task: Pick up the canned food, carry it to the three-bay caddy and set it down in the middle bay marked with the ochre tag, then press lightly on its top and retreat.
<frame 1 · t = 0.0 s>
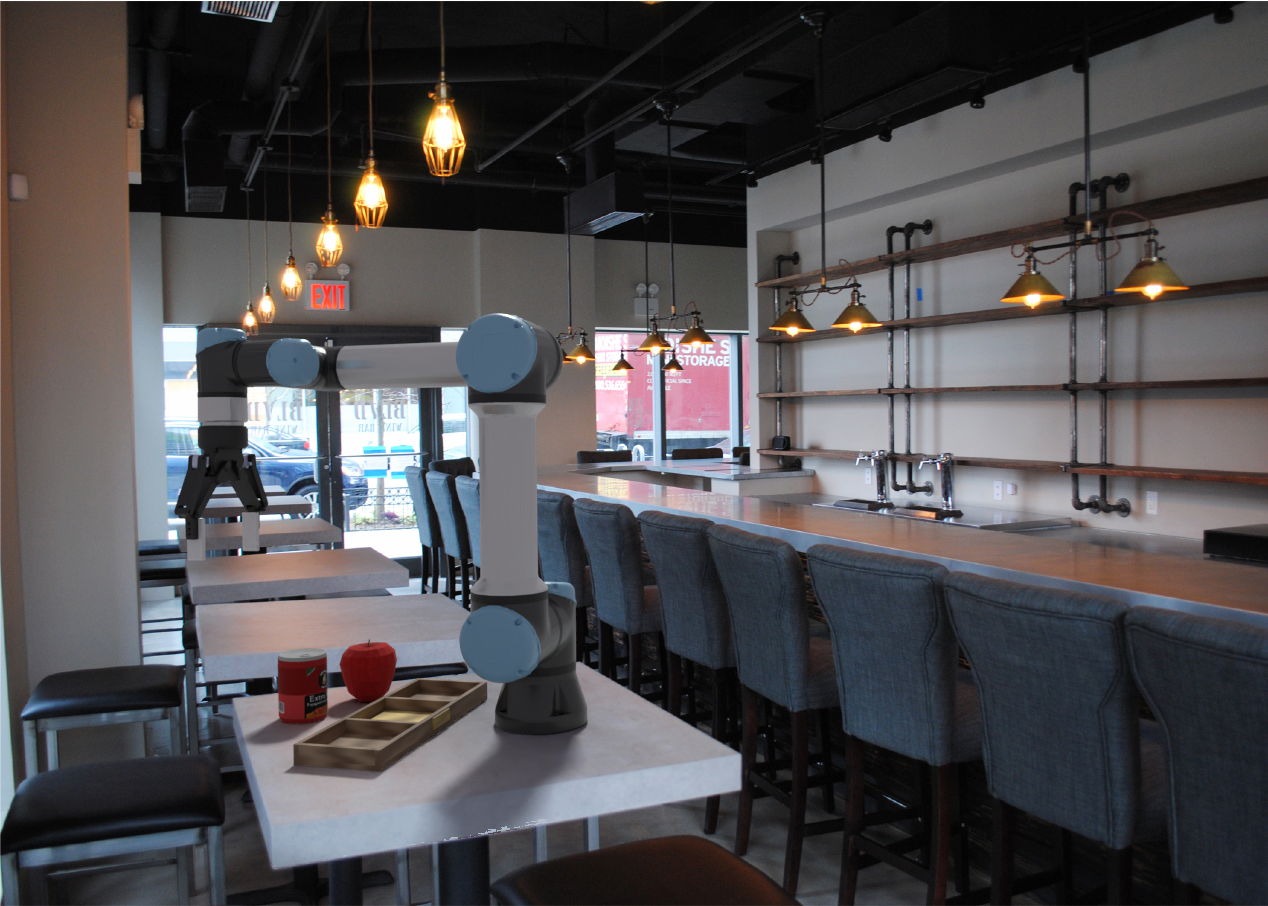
hand: (224, 555, 156), 28 cm above the table, fingers open, 13 cm apart
canned food: (303, 719, 161), on the table
apple: (369, 700, 172), on the table
caddy: (401, 728, 154), on the table
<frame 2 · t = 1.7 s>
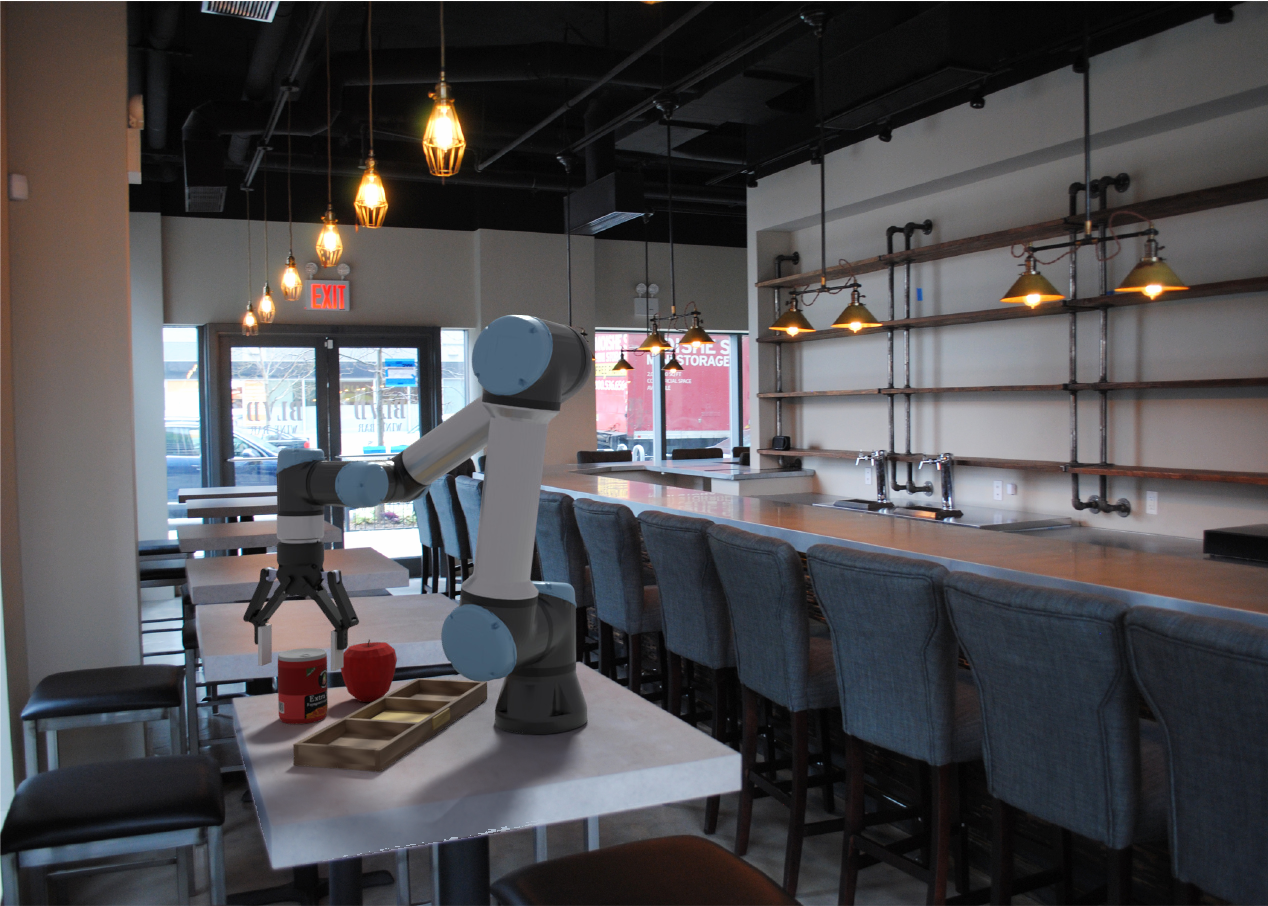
hand: (300, 666, 161), 9 cm above the table, fingers open, 13 cm apart
nothing on the table moved.
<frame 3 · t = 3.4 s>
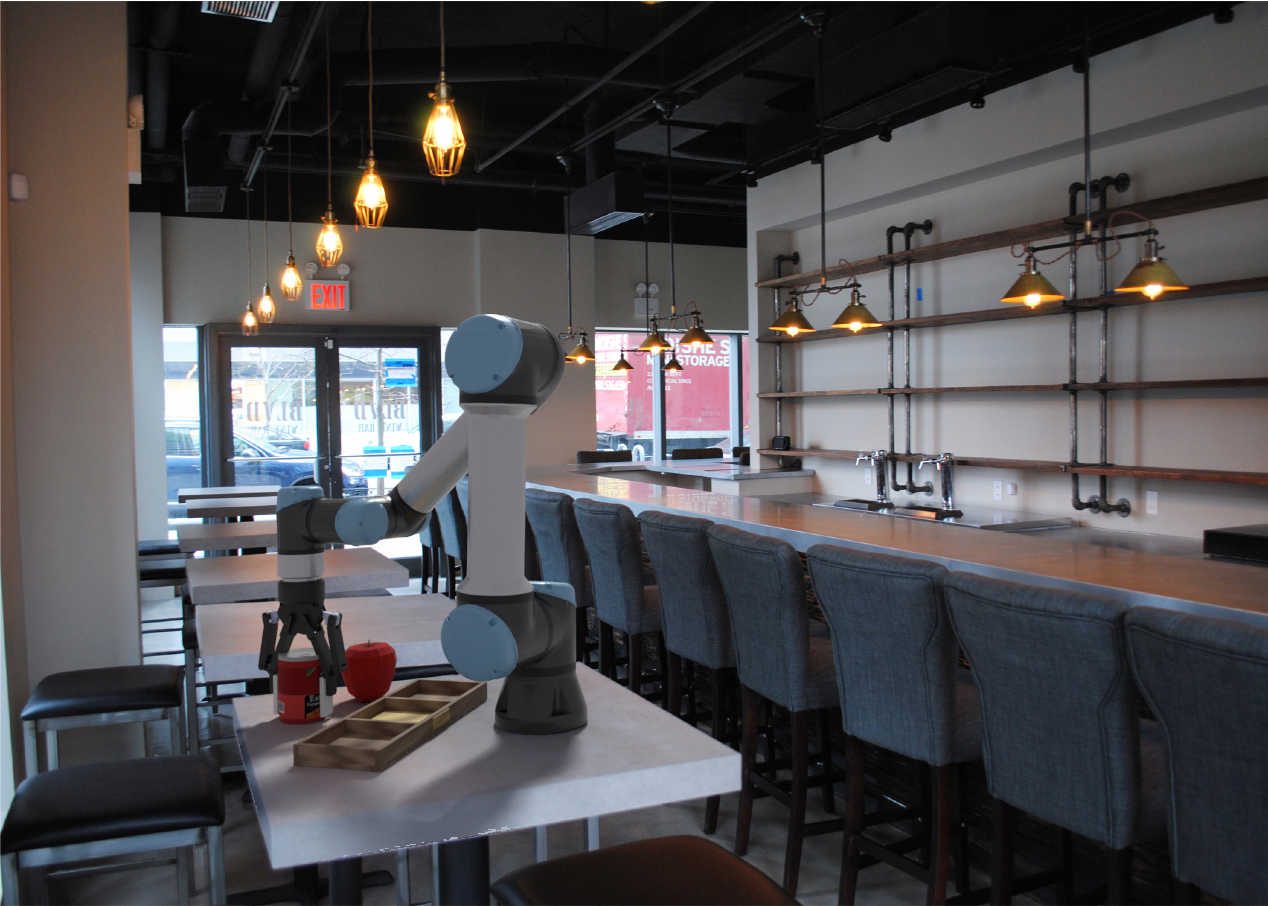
hand: (303, 713, 161), 1 cm above the table, fingers closed on canned food, 8 cm apart
canned food: (303, 719, 161), on the table, touching gripper
everything else where it was.
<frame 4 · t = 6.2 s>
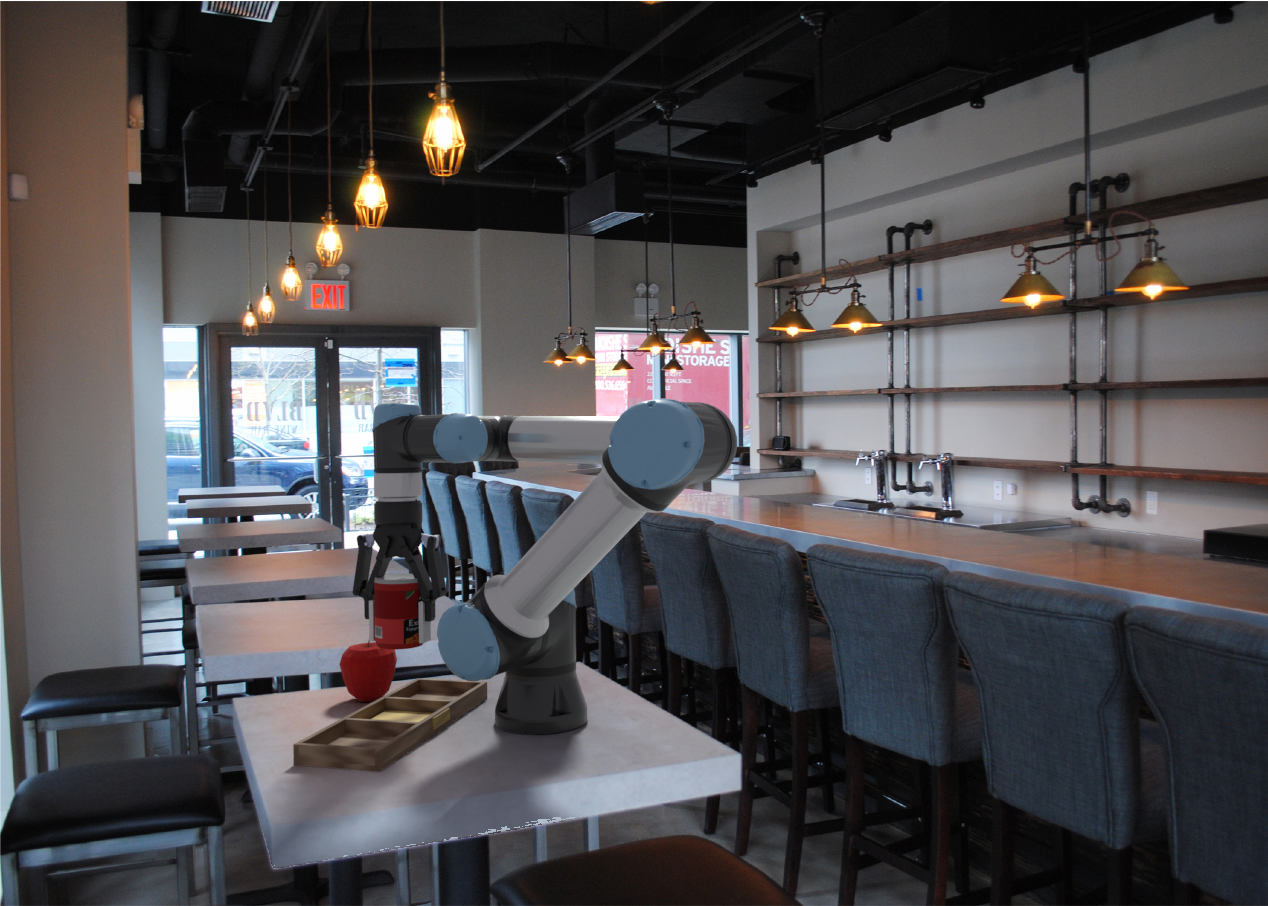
hand: (400, 640, 154), 14 cm above the table, fingers closed on canned food, 8 cm apart
canned food: (400, 646, 154), point 13 cm above the table, touching gripper
everything else where it was.
when the fingers open (3 cm above the table, at t = 8.9 s): canned food drops 1 cm, resting on caddy.
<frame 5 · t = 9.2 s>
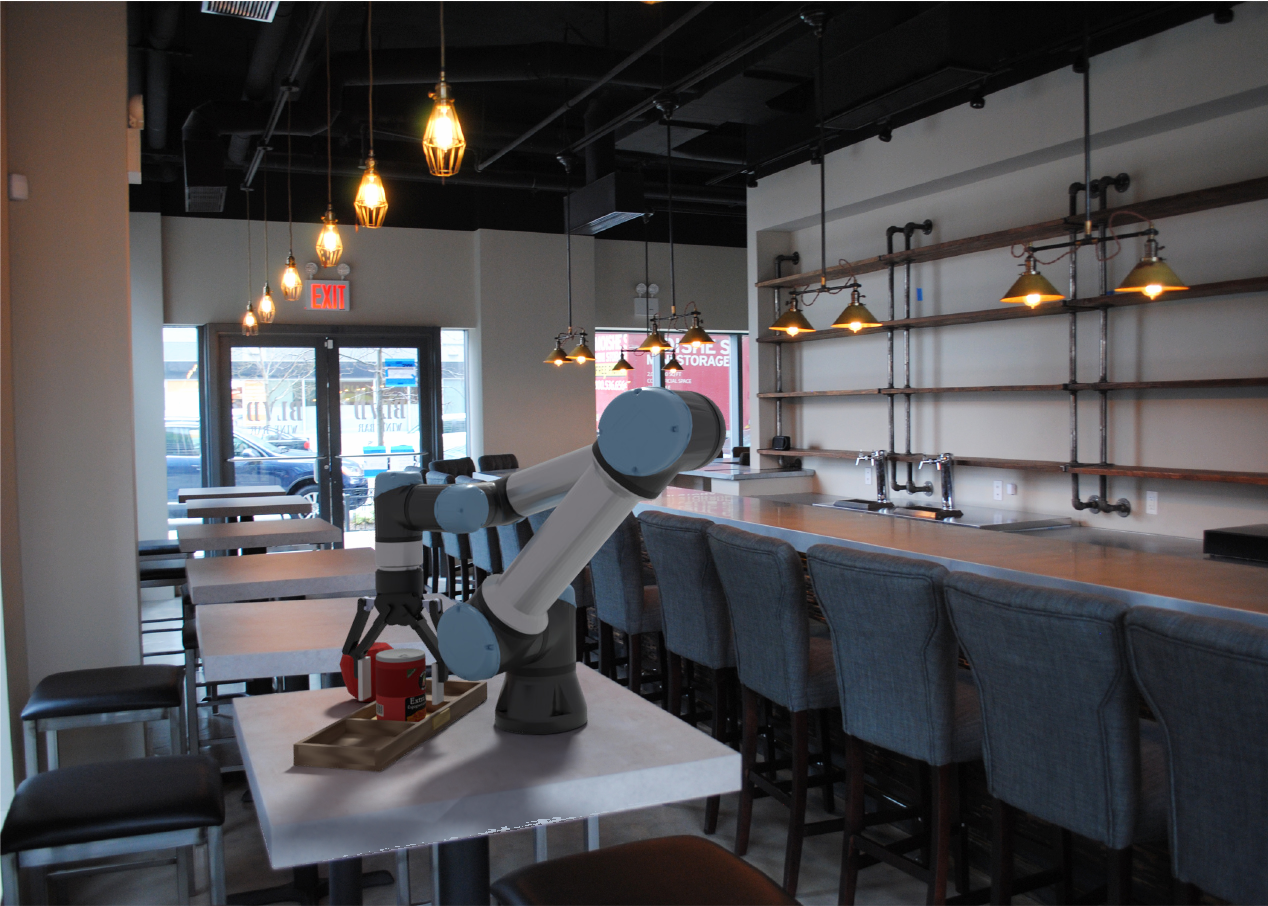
hand: (401, 700, 154), 4 cm above the table, fingers open, 12 cm apart
canned food: (401, 722, 154), point 1 cm above the table, touching caddy
everything else where it was.
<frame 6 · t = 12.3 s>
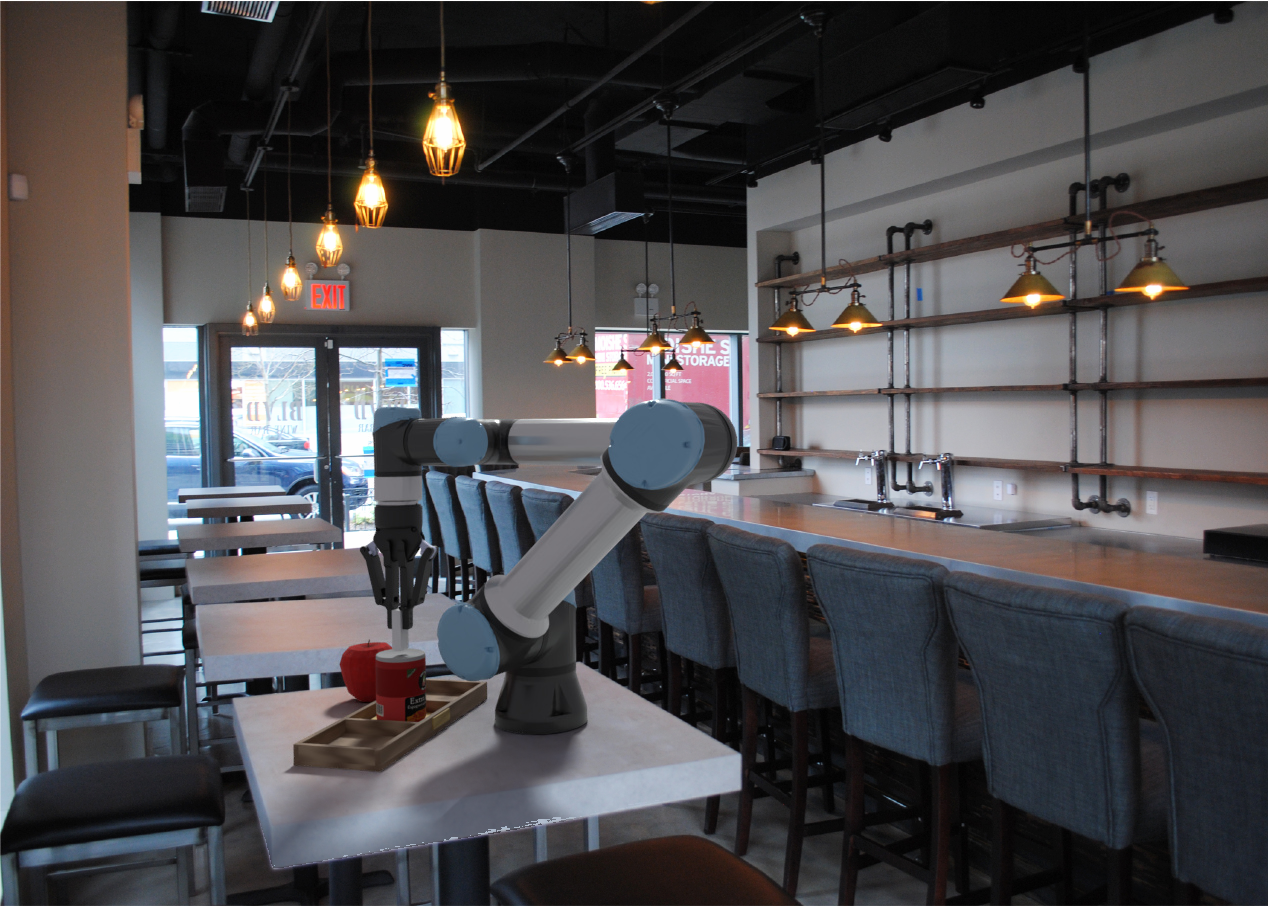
hand: (400, 649, 154), 13 cm above the table, fingers closed
nothing on the table moved.
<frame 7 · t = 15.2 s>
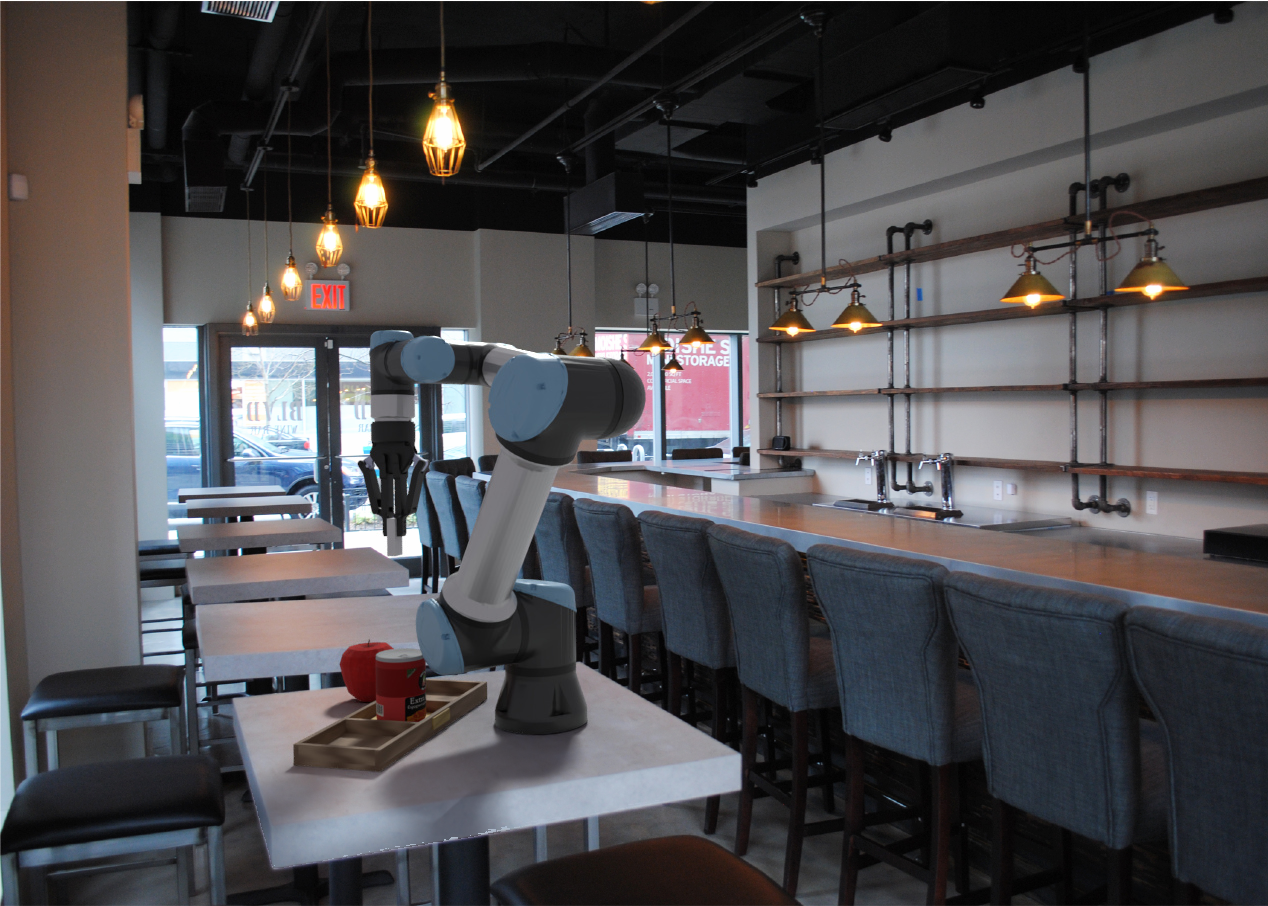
hand: (394, 555, 167), 26 cm above the table, fingers closed
nothing on the table moved.
at the end: canned food 0.0 cm from the target spot, point 0.9 cm above the table; canned food tilted 0°; the gripper is holding nothing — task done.
